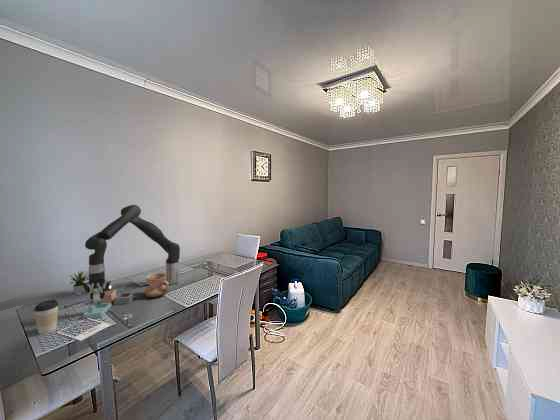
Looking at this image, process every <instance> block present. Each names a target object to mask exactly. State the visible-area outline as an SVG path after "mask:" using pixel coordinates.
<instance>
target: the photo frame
mask: <svg viewBox="0 0 560 420" xmlns="http://www.w3.org/2000/svg"><path fill="white" fill-rule="evenodd" d="M84 320H85V321H87V320H88V321H91V322H94V321H95V322H94V323H98V325H95V326H93V327H91V328H89V329H88V330H86V331H84V332H82V333H80V334H78V335H76V336H73V335H69V334H66V333H64V330H67V329H69V328H71V326H72V327H74V326H76V325H78V324H80V323H82V322H84ZM87 320H86V319H82V320H81V321H78V322H77V323H78V324H77V323H74V324H72V325H69V326H67V327H66V328H63V329H60V330H58V331H57V332H56V334H57V333H58V334H57V335H60V334H61V336H63V335H65V336H64V337H66V336H68V337H67V338H70V337H72V338H71V339H73V338H74V339H73V340H77V341H79V342H81V341H84V340H85V339H87V338H89V337H90V336H93V335H95V334H96V333H99V332H100V331H102V330H104V329H107V327H110V326H111V323H107V322H104V321H100V320H97V319H95V318H87ZM75 324H76V325H75ZM73 325H74V326H73Z"/></svg>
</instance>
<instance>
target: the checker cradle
mask: <svg viewBox="0 0 560 420" xmlns="http://www.w3.org/2000/svg"><path fill="white" fill-rule="evenodd" d="M135 295H136V293H135V291H127V292H126V291H125V292H119V293H118V294H116V297H115V298H114V300H113V305H114V306H116V305H117V306H119V305H126V304H127V305H129V304H131V303H132V302H133V300H134V299H135V298H136V296H135Z"/></svg>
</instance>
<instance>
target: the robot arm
mask: <svg viewBox="0 0 560 420" xmlns="http://www.w3.org/2000/svg"><path fill="white" fill-rule="evenodd" d="M141 212H142V210H141V207H140V206H139V205H137V204H131V205H128V206H125V207H122V208H121V209H120V214H121V216H119V217H118V218H116V219H115V220H113V221H112V222H111V223H109V224H108V225H107V226H105V228H103V229H101V231H98V232H97V233H95V234H93V235H92V236H90V237H89V238H88V239H86V241H85V244H84V246H85V249H87V250H91V251H93V250H94V253H91V254H89V256H88V271H87V273H88V276H89V277H88V278H89V280H88V281H87V282H85V281H84V284H83V287H84V289H85V293H86V294H89V299H90V300H92V301H93V288H99V290H100V292H101V293H100V294H101V299H103V298H104V296H105V292H106V291H107V290H108V289H109V286H110V284H111V280H106V279H105V278H106V276H105V274H106V273H105V269H106V268H105V257H104V256H105V253H106V250H107V247H108V246H107V245H108V244H107V243H108V242H107V241H109V240H111V239H112V238H113V237H115V236H116V235H117V234H118V232H119V231H121V230H122V229H123V228H124V227H126V225H127V224H129V223H131V224H132V225H133V226H135V227H136V228H137V229H138V230H139V231H141V232H142V233H144V235H145V236H146V237H148V238H149V239H151V240H152V241H153V242H155V243H156V244H158V245H159V247H161V249H162V250H163V251H165V253H167V258H166V259H165V260H166V261H165V274H166V277H165V281H167V282H168V283H169V284H173V285H175V284H174V283H178V284H179V282H180V270H179V266H180V265H179V260H180V257H181V253H180V252H181V251H180V250H181V248H180V245H179V243H176V242H173V241H171V240H170V239H168V238H167V236H165V235H164V232H163V231H162V230H161V229H160V228H159V227H158V226H157V225H155V224H154V223H152V222H150V221H147V220H145V219H143V218H142V217H140V215H141ZM178 281H179V282H178ZM105 285H106V287H105V289H104V286H105Z"/></svg>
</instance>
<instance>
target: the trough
mask: <svg viewBox="0 0 560 420" xmlns="http://www.w3.org/2000/svg"><path fill="white" fill-rule="evenodd" d="M110 308H112V302H110V303H101V304H100V305H93V304H92V306H91V307H90V308H88V310H87V311H85V312H83V314H82V320H85V318H90V319H95V318H96V319H97V317H98V318H102V317H103V316H104V314H105V313H106V312H107V311H108V310H109V309H110Z"/></svg>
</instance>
